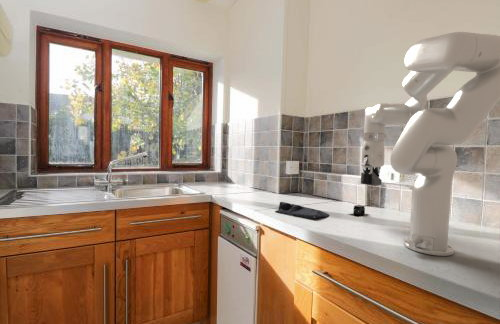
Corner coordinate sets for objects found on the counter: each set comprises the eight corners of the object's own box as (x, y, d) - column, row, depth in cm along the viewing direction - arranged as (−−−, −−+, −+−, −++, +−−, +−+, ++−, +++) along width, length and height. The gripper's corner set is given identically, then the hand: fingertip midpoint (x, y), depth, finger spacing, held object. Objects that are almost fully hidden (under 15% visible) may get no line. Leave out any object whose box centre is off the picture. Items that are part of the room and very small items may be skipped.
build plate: (360, 212, 128) (361, 203, 128) (374, 216, 122) (375, 206, 122) (343, 215, 122) (343, 205, 121) (357, 219, 116) (357, 208, 115)
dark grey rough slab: (313, 222, 108) (313, 211, 108) (272, 212, 124) (272, 202, 123) (332, 216, 118) (332, 206, 118) (292, 208, 134) (292, 198, 134)
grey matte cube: (375, 185, 104) (376, 173, 104) (360, 183, 109) (361, 172, 109) (381, 184, 107) (382, 173, 107) (366, 182, 112) (367, 171, 112)
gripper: (372, 137, 99) (369, 186, 100) (392, 138, 109) (389, 183, 111) (353, 137, 104) (351, 183, 106) (374, 138, 115) (372, 180, 116)
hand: (371, 182), depth 108 cm, fingers closed on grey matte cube, 5 cm apart
